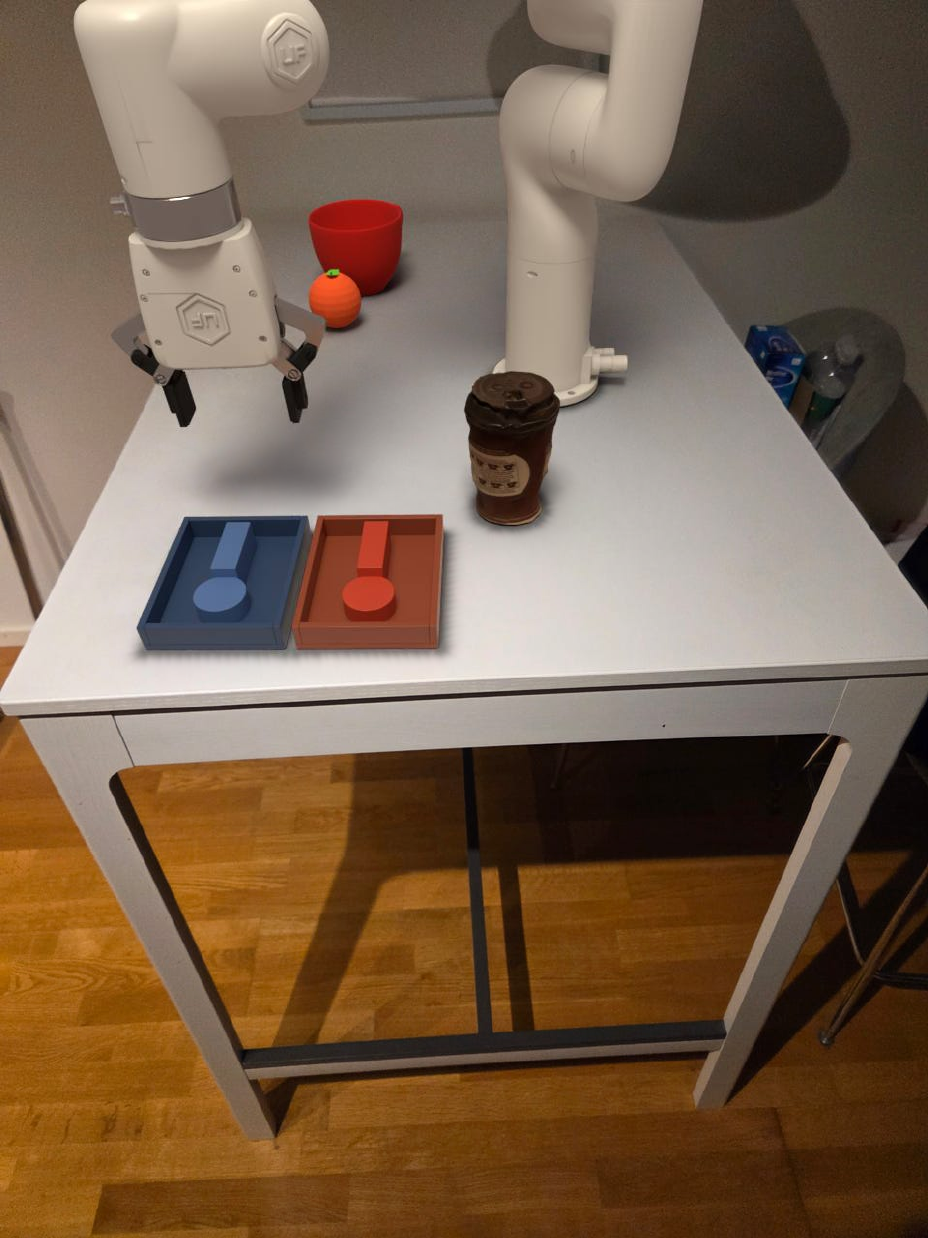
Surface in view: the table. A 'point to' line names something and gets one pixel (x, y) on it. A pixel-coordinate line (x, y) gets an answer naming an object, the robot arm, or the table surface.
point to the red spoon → (371, 578)
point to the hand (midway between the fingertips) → (243, 416)
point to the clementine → (335, 298)
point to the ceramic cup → (359, 240)
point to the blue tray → (267, 584)
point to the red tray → (336, 566)
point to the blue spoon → (228, 577)
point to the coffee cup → (510, 443)
